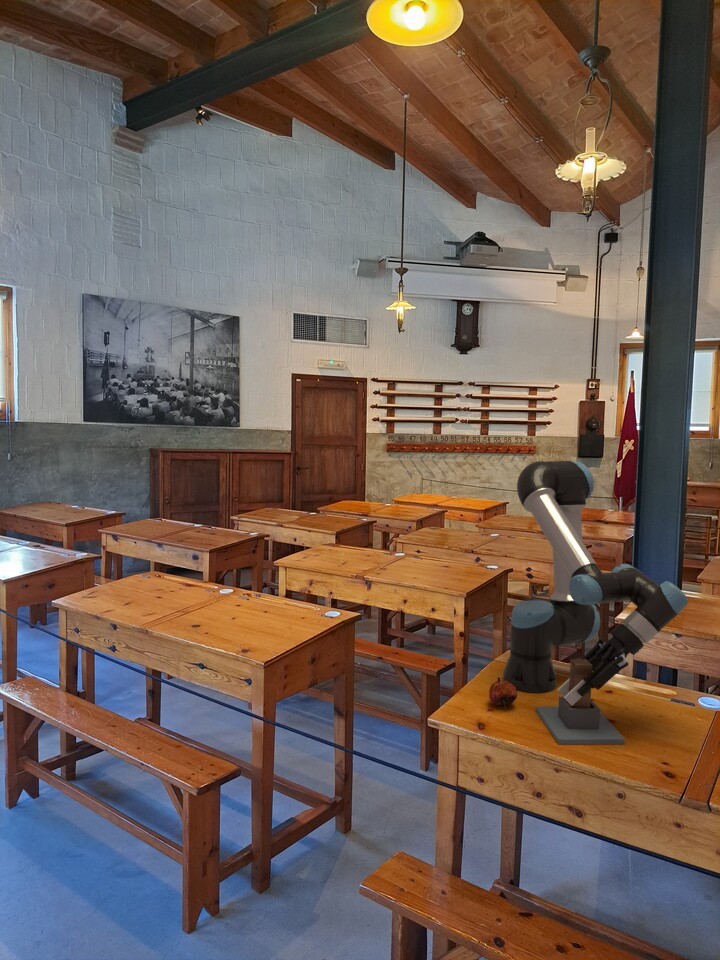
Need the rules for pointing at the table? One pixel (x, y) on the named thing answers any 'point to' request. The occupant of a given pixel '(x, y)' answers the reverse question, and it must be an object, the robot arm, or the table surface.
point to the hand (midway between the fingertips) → (564, 697)
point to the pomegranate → (502, 693)
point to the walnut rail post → (577, 673)
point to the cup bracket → (578, 724)
